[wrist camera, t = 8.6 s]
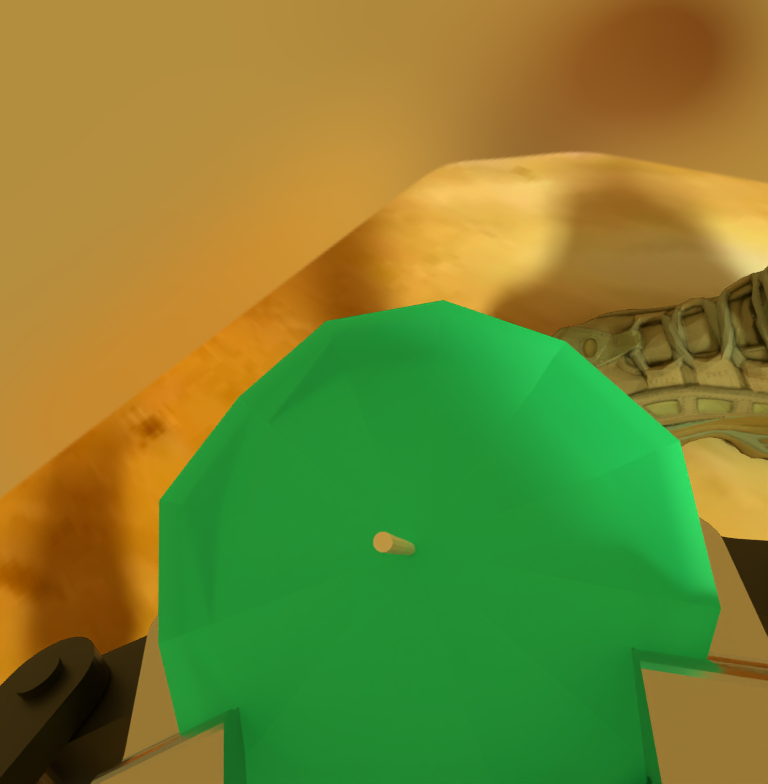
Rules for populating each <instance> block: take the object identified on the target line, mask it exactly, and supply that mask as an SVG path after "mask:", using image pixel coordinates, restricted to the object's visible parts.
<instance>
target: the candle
mask: <svg viewBox="0 0 768 784" xmlns="http://www.w3.org/2000/svg"><path fill="white" fill-rule="evenodd" d="M720 611H721V606H720V602H719V598H718V594H717V590H716V586H715V582H714V578H713V574H712V570H711V565H710V561H709V557H708V553H707V549H706V545H705V541H704V537H703V533H702V529H701V525H700V521H699V517H698V513H697V508H696V504H695V500H694V496H693V492H692V488H691V484H690V480H689V476H688V472H687V468H686V464H685V460H684V455H683V451H682V447H681V443H680V441H679V440H678V439H677V438H676V437H675V436H674V435H672V434H671V433H670V432H669V431H668V430H667V429H666V428H664V427H663V426H662V425H661V424H660V423H659V422H658V421H656V420H655V419H654V418H653V417H652V416H651V415H650V414H648V413H647V412H646V411H645V410H644V409H643V408H641V407H640V406H639V405H638V404H637V403H636V402H635V401H633V400H632V399H631V398H630V397H629V396H628V395H627V394H625V393H624V392H623V391H622V390H621V389H620V388H619V387H617V386H616V385H615V384H614V383H613V382H612V381H611V380H609V379H608V378H607V377H606V376H605V375H604V374H602V373H601V372H600V371H599V370H598V369H597V368H596V367H594V366H593V365H592V364H591V363H590V362H589V361H588V360H586V359H585V358H584V357H583V356H582V355H581V354H580V353H578V352H577V351H576V350H575V349H574V348H573V347H572V346H570V345H569V344H568V343H567V342H565V341H562V340H559V339H556V338H554V337H551V336H548V335H545V334H542V333H539V332H536V331H533V330H530V329H527V328H524V327H521V326H518V325H515V324H512V323H509V322H506V321H503V320H500V319H498V318H495V317H492V316H489V315H486V314H483V313H480V312H477V311H474V310H471V309H468V308H465V307H462V306H459V305H456V304H453V303H450V302H447V301H444V300H441V301H436V302H430V303H425V304H419V305H413V306H408V307H402V308H397V309H391V310H385V311H380V312H374V313H369V314H363V315H357V316H352V317H346V318H341V319H335V320H329V321H326V322H324V323H323V324H322V325H321V326H320V327H319V328H318V329H316V330H315V331H314V332H313V333H312V334H311V335H310V336H308V337H307V338H306V339H305V340H304V341H303V342H301V343H300V344H299V345H298V346H297V347H296V348H295V349H293V350H292V351H291V352H290V353H289V354H288V355H287V356H285V357H284V358H283V359H282V360H281V361H280V362H279V363H277V364H276V365H275V366H274V367H273V368H272V369H271V370H269V371H268V372H267V373H266V374H265V375H264V376H262V377H261V378H260V379H259V380H258V381H257V382H256V383H254V384H253V385H252V386H251V387H250V388H249V389H248V390H246V391H245V392H244V393H243V394H242V395H241V396H240V397H238V399H237V400H236V401H235V403H234V404H233V405H232V407H231V408H230V409H229V410H228V412H227V413H226V414H225V416H224V417H223V418H222V420H221V421H220V422H219V423H218V425H217V426H216V427H215V429H214V430H213V431H212V433H211V434H210V435H209V436H208V438H207V439H206V440H205V442H204V443H203V444H202V446H201V447H200V448H199V449H198V451H197V452H196V453H195V455H194V456H193V457H192V459H191V460H190V461H189V462H188V464H187V465H186V466H185V468H184V469H183V470H182V472H181V473H180V474H179V475H178V477H177V478H176V479H175V481H174V482H173V483H172V485H171V486H170V487H169V488H168V490H167V491H166V492H165V494H164V495H163V496H162V498H161V499H160V500H159V609H158V645H159V649H160V654H161V658H162V662H163V666H164V670H165V675H166V679H167V683H168V687H169V691H170V695H171V700H172V704H173V708H174V712H175V716H176V720H177V725H178V729H179V733H182V732H184V731H187V730H189V729H191V728H193V727H195V726H197V725H199V724H201V723H203V722H205V721H207V720H209V719H211V718H213V717H215V716H217V715H219V714H222V713H224V712H226V711H228V710H230V709H233V710H235V709H236V708H237V707H239V713H240V720H241V727H242V735H243V742H244V750H245V761H246V784H647V781H646V771H645V762H644V751H643V741H642V733H641V725H640V717H639V708H638V700H637V691H636V683H635V674H634V666H633V657H632V649H631V647H632V648H635V649H639V650H645V651H652V652H659V653H665V654H672V655H679V656H686V657H693V658H699V659H706V660H707V657H708V654H709V650H710V647H711V643H712V639H713V636H714V632H715V629H716V625H717V622H718V618H719V615H720Z"/></svg>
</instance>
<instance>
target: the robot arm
mask: <svg viewBox="0 0 768 784" xmlns="http://www.w3.org/2000/svg"><path fill="white" fill-rule="evenodd" d="M699 521H700V525H701V529H702V533H703V537H704V541H705V545H706V549H707V553H708V557H709V561H710V565H711V570H712V574H713V578H714V582H715V586H716V590H717V594H718V598H719V602H720V606H721V611H720V615H719V618H718V622H717V625H716V629H715V632H714V636H713V639H712V643H711V647H710V650H709V654H708V657H707V660H706V659H699V658H693V657H686V656H679V655H672V654H665V653H659V652H652V651H645V650H639V649H635V648H632V647H631V649H632V657H633V666H634V674H635V683H636V691H637V700H638V708H639V717H640V725H641V733H642V741H643V751H644V762H645V771H646V781H647V784H768V541H763V540H748V539H735V538H727V537H722V536H720V534H719V533H718V532H717V531H716V530H715V528H713V527H712V526H711V525H710V524H709V523H707V522H706V521H704V520H703V519H701V518H699ZM38 780H39V781H40V782H41V783H42V784H246V761H245V750H244V742H243V735H242V727H241V720H240V713H239V707H237V708H236V709H235V710H233V709H230V710H228V711H226V712H224V713H222V714H219V715H217V716H215V717H213V718H211V719H209V720H207V721H205V722H203V723H201V724H199V725H197V726H195V727H193V728H191V729H189V730H187V731H184V732H182V733H179V729H178V725H177V720H176V716H175V712H174V708H173V704H172V700H171V695H170V691H169V687H168V683H167V679H166V675H165V670H164V666H163V662H162V658H161V654H160V649H159V645H158V615H157V616H156V618H155V619H154V621H153V622H152V624H151V626H150V628H149V631H148V635H147V636H145V637H143V638H140V639H138V640H136V641H133V642H131V643H129V644H127V645H124V646H122V647H120V648H117V649H115V650H113V651H111V652H108V653H106V654H104V655H101V654H100V653H99V651H98V650H97V649H96V647H95V646H94V644H93V643H92V642H91V640H89V639H88V638H84V637H73V638H68V639H65V640H62V641H60V642H57V643H55V644H53V645H51V646H49V647H47V648H45V649H44V650H42V651H40V652H39V653H37V654H36V655H34V656H33V657H31V658H30V659H29V660H27V661H26V662H25V663H24V664H23V665H21V666H20V667H19V668H18V669H17V670H16V671H15V672H14V673H13V674H12V675H11V676H10V677H9V678H8V679H7V680H6V681H5V682H4V683H3V684H2V685H1V686H0V784H36V783H37V782H38Z"/></svg>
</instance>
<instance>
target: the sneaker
mask: <svg viewBox="0 0 768 784" xmlns="http://www.w3.org/2000/svg"><path fill="white" fill-rule="evenodd" d="M552 337H554V338H556V339H559V340H562V341H565V342H567V343H568V344H569V345H570V346H572V347H573V348H574V349H575V350H576V351H577V352H578V353H580V354H581V355H582V356H583V357H584V358H585V359H586V360H588V361H589V362H590V363H591V364H592V365H593V366H594V367H596V368H597V369H598V370H599V371H600V372H601V373H602V374H604V375H605V376H606V377H607V378H608V379H609V380H611V381H612V382H613V383H614V384H615V385H616V386H617V387H619V388H620V389H621V390H622V391H623V392H624V393H625V394H627V395H628V396H629V397H630V398H631V399H632V400H633V401H635V402H636V403H637V404H638V405H639V406H640V407H641V408H643V409H644V410H645V411H646V412H647V413H648V414H650V415H651V416H652V417H653V418H654V419H655V420H656V421H658V422H659V423H660V424H661V425H662V426H663V427H664V428H666V429H667V430H668V431H669V432H670V433H671V434H672V435H674V436H675V437H676V438H677V439H678V440H679V441H680V443H681V446H683V445H685V444H686V443H688V442H691V441H695V440H698V439H702V438H706V437H713V438H720V439H726V440H728V441H729V442H731V443H732V444H733V445H734V446H735V447H736V448H737V449H738V450H739V451H740V452H741V453H742V454H745V455H747V456H749V457H751V458H761V459H765V460H768V267H766V268H765V269H764V270H763V271H760V272H757V273H752V274H750V275H748V276H746V277H743V278H741V279H740V280H738V281H737V282H735V283H733V284H732V285H730V286H729V287H727V288H726V289H725V290H724V291H723V292H722V294H721V295H720V296H718V297H712V298H707V299H705V298H692V299H690V300H688V301H686V302H684V303H682V304H680V305H675V306H668V307H662V308H653V309H627V310H622V311H616V312H610V313H606V314H603V315H600V316H598V317H596V318H594V319H591V320H589V321H587V322H585V323H583V324H580V325H576V326H572V327H566V328H561V329H560V330H558V331H557V332H556V333H555V334H554V335H553V336H552Z"/></svg>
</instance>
